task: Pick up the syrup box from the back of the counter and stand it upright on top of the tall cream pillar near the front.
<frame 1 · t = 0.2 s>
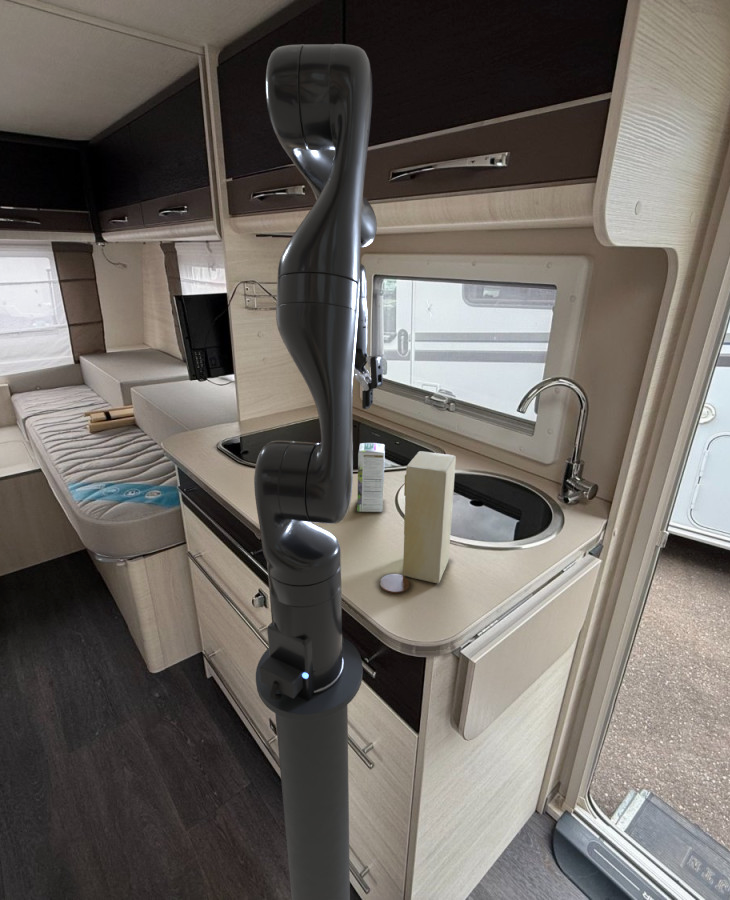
hand: (348, 405, 94), 25 cm above the worktop, tool pointing down, fingers open, 8 cm apart
tall cream pillar: (424, 568, 85), on the worktop
brown glossy disc: (394, 584, 80), on the worktop
syrup box: (370, 507, 107), on the worktop
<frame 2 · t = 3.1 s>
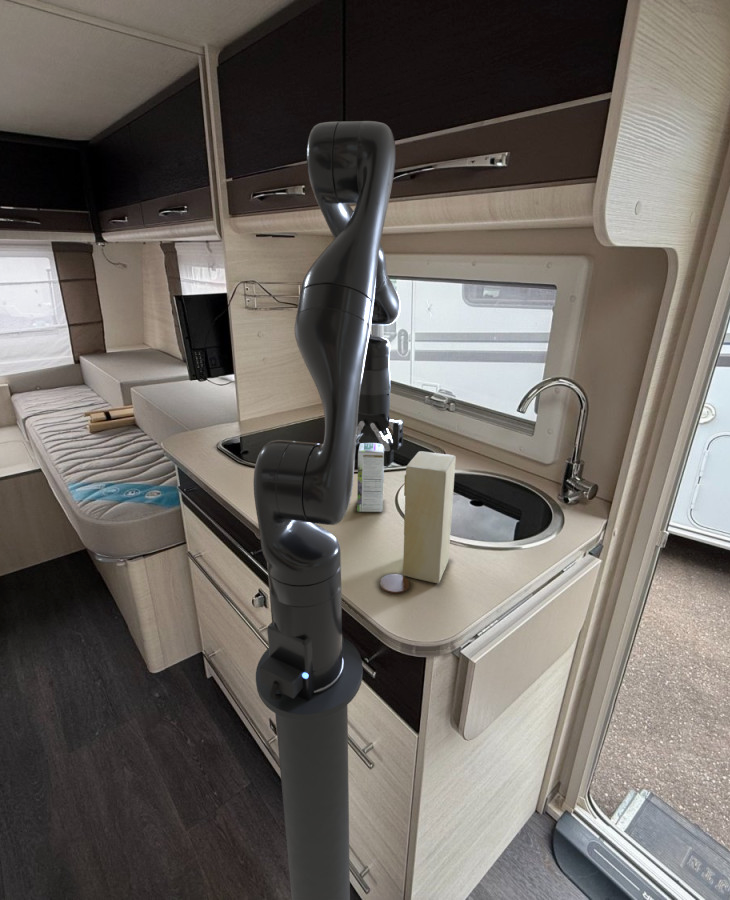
hand: (371, 462, 103), 11 cm above the worktop, tool pointing down, fingers closed on syrup box, 7 cm apart
syrup box: (370, 507, 107), on the worktop, touching gripper
everything else where it was.
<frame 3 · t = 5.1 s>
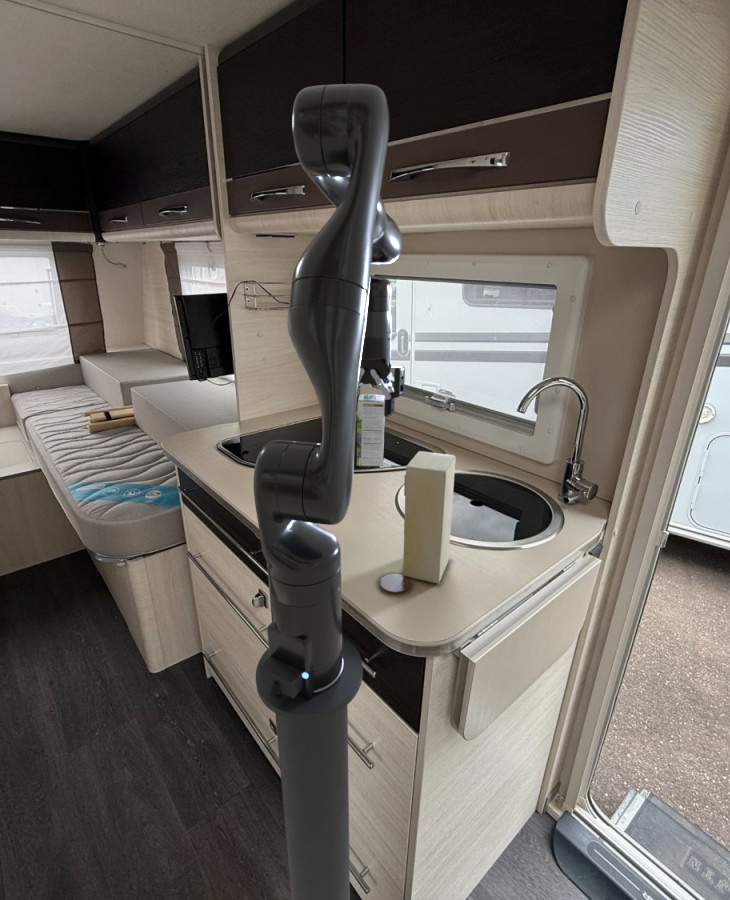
hand: (371, 413, 99), 22 cm above the worktop, tool pointing down, fingers closed on syrup box, 7 cm apart
syrup box: (370, 462, 103), point 11 cm above the worktop, touching gripper
everything else where it was.
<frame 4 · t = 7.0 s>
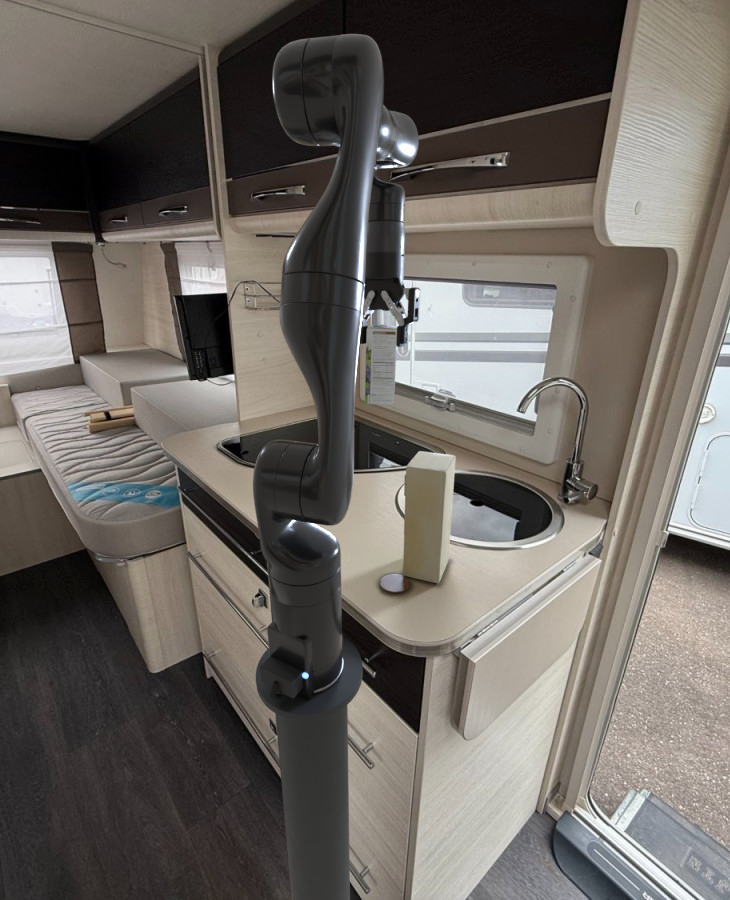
hand: (381, 344, 89), 37 cm above the worktop, tool pointing down, fingers closed on syrup box, 7 cm apart
syrup box: (379, 402, 93), point 26 cm above the worktop, touching gripper
everything else where it was.
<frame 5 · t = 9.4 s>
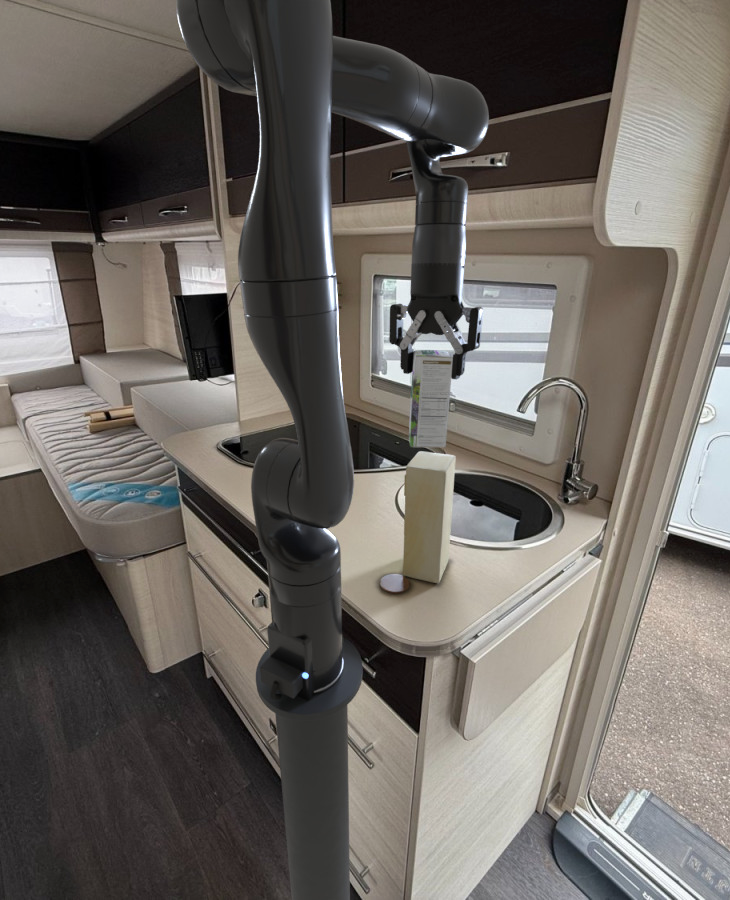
hand: (431, 375, 72), 35 cm above the worktop, tool pointing down, fingers closed on syrup box, 7 cm apart
syrup box: (427, 443, 76), point 24 cm above the worktop, touching gripper
everything else where it was.
when the fingers open (32 cm above the worktop, at t = 11.0 s): syrup box stays where it is, resting on tall cream pillar.
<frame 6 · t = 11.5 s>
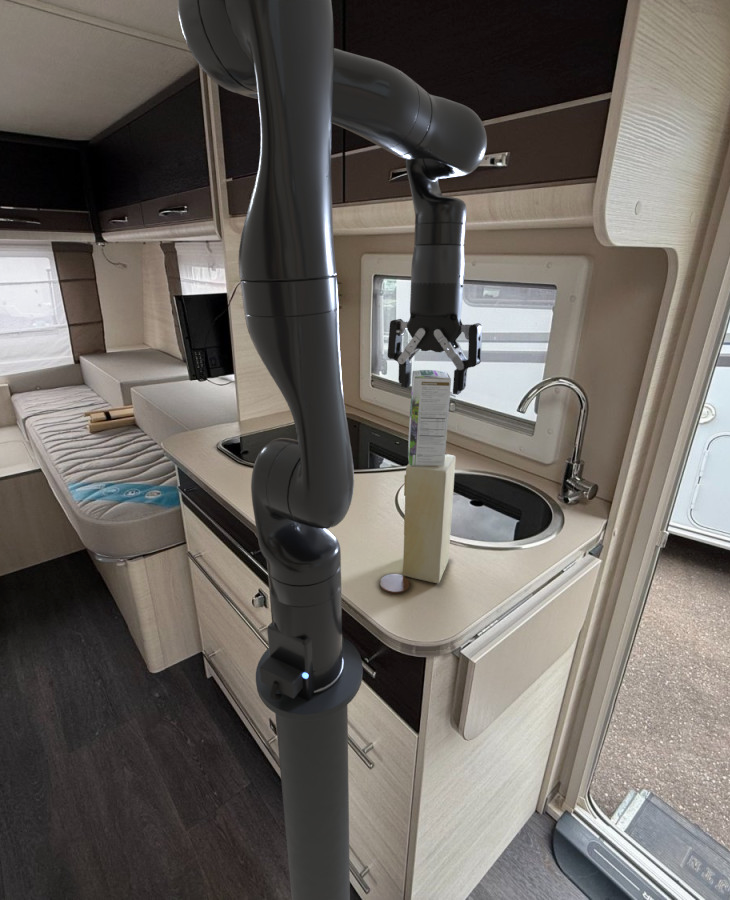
hand: (430, 390, 73), 33 cm above the worktop, tool pointing down, fingers open, 8 cm apart
tall cream pillar: (424, 568, 85), on the worktop, touching syrup box
syrup box: (425, 461, 78), point 21 cm above the worktop, touching tall cream pillar
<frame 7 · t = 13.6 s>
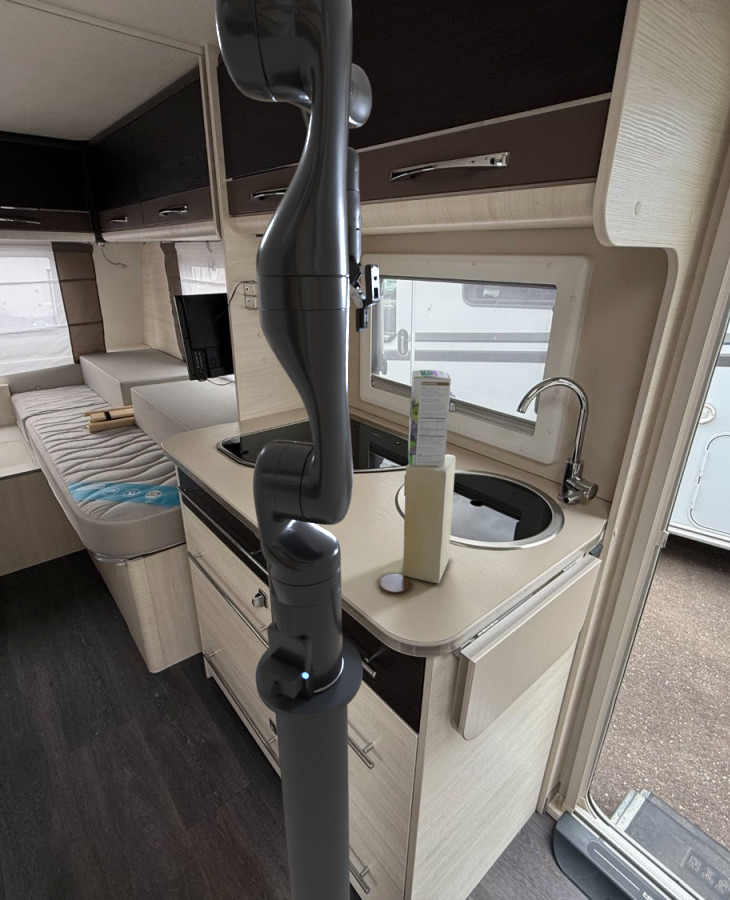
hand: (339, 329, 80), 41 cm above the worktop, tool pointing down, fingers open, 8 cm apart
nothing on the worktop moved.
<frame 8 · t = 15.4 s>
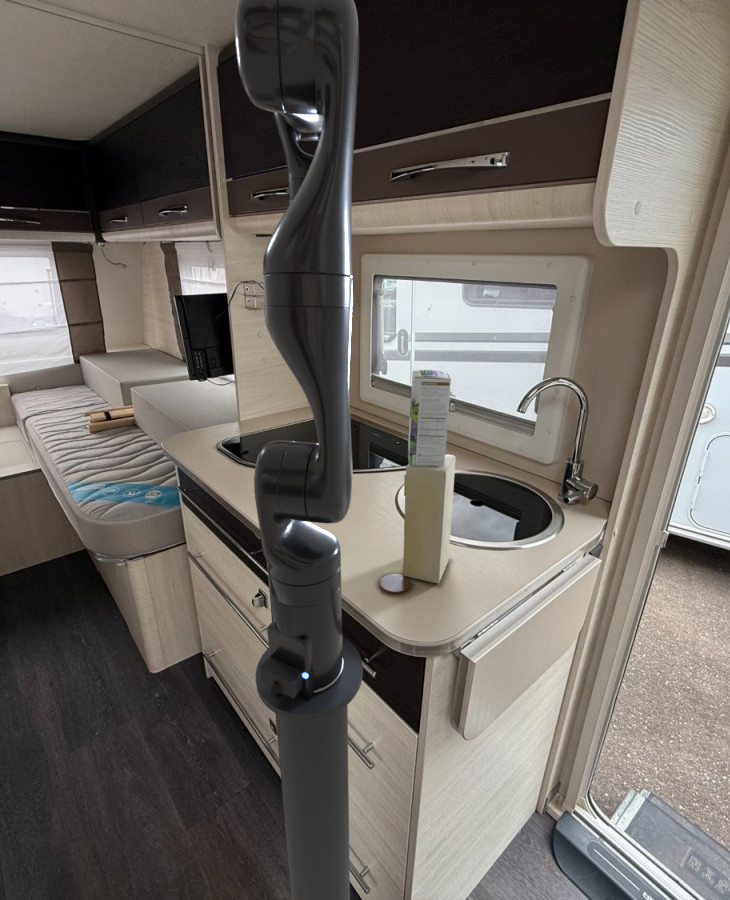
hand: (315, 332, 83), 40 cm above the worktop, tool pointing down, fingers open, 8 cm apart
nothing on the worktop moved.
at the end: syrup box 0.8 cm off-centre on the tall cream pillar, point 21.0 cm above the tall cream pillar's base; syrup box tilted 0°; the gripper is holding nothing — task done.
